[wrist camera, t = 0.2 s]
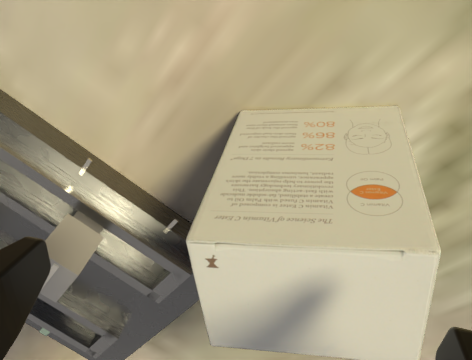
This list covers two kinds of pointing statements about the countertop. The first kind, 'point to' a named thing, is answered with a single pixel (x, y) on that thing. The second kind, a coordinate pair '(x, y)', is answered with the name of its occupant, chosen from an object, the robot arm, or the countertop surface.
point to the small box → (316, 236)
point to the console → (109, 250)
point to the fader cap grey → (69, 252)
